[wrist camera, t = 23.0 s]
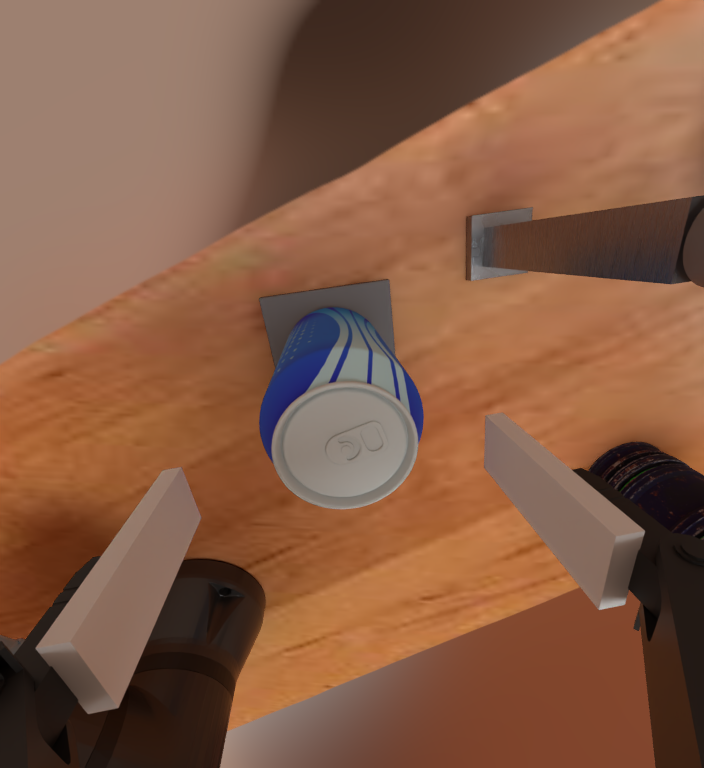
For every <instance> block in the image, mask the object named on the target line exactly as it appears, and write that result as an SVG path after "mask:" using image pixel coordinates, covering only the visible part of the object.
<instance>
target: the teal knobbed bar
mask: <svg viewBox="0 0 704 768" xmlns="http://www.w3.org/2000/svg"><path fill="white" fill-rule="evenodd" d="M683 265H684V269H685V272H686V274H687V276H688V277H689V279H690V280H691V281H692V282H693V283H695V284H696V285H698V286H701V287H704V208H703V209H702V210H701V212H700V213H699V214H698V216H697V217H696V219H695V220H694V222H693V224H692V226H691V228H690V230H689V232H688V235H687V237H686V241H685V244H684V250H683Z"/></svg>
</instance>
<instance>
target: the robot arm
mask: <svg viewBox="0 0 704 768" xmlns="http://www.w3.org/2000/svg"><path fill="white" fill-rule="evenodd" d="M484 468H485V469H486V470H487V472H488V473H489V474H490V475H491V477H492V478H493V479H494V480H495V481H496V483H497V484H498V485H499V486H500V488H501V489H502V490H503V491H504V493H505V494H506V495H507V496H508V498H509V499H510V500H511V501H512V503H513V504H514V505H515V506H516V508H517V509H518V510H519V511H520V513H521V514H522V515H523V516H524V518H525V519H526V520H527V521H528V522H529V524H530V525H531V526H532V527H533V529H534V530H535V531H536V532H537V534H538V535H539V536H540V537H541V539H542V540H543V541H544V542H545V544H546V545H547V546H548V547H549V549H550V550H551V551H552V552H553V554H554V555H555V556H556V557H557V559H558V560H559V561H560V562H561V564H562V565H563V566H564V567H565V568H566V570H567V571H568V572H569V573H570V575H571V576H572V577H573V578H574V580H575V581H576V582H577V583H578V585H579V586H580V587H581V588H582V590H583V591H584V592H585V593H586V595H587V596H588V597H589V598H590V600H591V601H592V602H593V603H594V605H595V606H596V607H597V608H598V610H601V609H606V608H610V607H616V606H620V605H624V604H625V601H626V598H627V595H628V591H629V590H630V591H631V592H632V593H633V594H634V595H635V596H636V597H637V598H638V599H639V601H640V602H641V604H640V607H639V610H638V613H637V617H636V620H635V624H634V629H635V630H638V631H639V628H640V626H641V635H642V645H643V654H644V663H645V673H646V682H647V691H648V701H649V709H650V719H651V729H652V737H653V747H654V757H655V766H656V768H704V540H701V539H698V538H696V537H693V536H690V535H685V534H679V533H672V532H670V531H669V530H668V529H667V528H665V527H664V526H663V525H661V524H660V523H659V522H657V521H656V520H655V519H654V518H652V517H651V516H650V515H648V514H647V513H646V512H645V511H643V510H642V509H641V508H639V507H638V506H637V505H635V504H634V503H633V502H632V501H630V500H629V499H628V498H625V497H624V495H622V494H621V493H620V492H619V491H617V490H616V489H613V487H612V486H611V485H610V484H608V483H607V482H606V481H604V480H603V479H602V478H600V477H599V476H597V475H595V474H593V473H591V472H589V471H586V470H584V469H582V468H580V469H574V470H571V469H570V468H569V467H568V466H566V465H565V464H564V463H563V462H561V461H560V460H559V459H558V458H557V457H555V456H554V455H553V454H552V453H551V452H549V451H548V450H547V449H546V448H545V447H543V446H542V445H541V444H540V443H539V442H537V441H536V440H535V439H534V438H533V437H531V436H530V435H529V434H528V433H526V432H525V431H524V430H523V429H522V428H520V427H519V426H518V425H517V424H516V423H514V422H513V421H512V420H511V419H510V418H508V417H507V416H506V415H505V414H504V413H497V414H491V415H486V420H485V456H484ZM200 520H201V515H200V513H199V510H198V508H197V505H196V503H195V500H194V498H193V495H192V493H191V490H190V487H189V485H188V482H187V480H186V477H185V475H184V472H183V470H182V467H179V468H173V469H167V470H163V471H162V472H161V473H160V475H159V476H158V478H157V479H156V480H155V482H154V483H153V485H152V486H151V487H150V489H149V490H148V492H147V493H146V494H145V496H144V497H143V499H142V500H141V501H140V503H139V504H138V506H137V507H136V508H135V510H134V511H133V513H132V514H131V515H130V517H129V518H128V520H127V521H126V522H125V524H124V525H123V527H122V528H121V529H120V531H119V532H118V534H117V535H116V536H115V538H114V539H113V541H112V542H111V543H110V545H109V546H108V548H107V549H106V550H105V552H104V553H103V555H102V556H98V557H93V558H92V559H91V560H90V561H89V562H88V563H86V564H85V565H84V566H83V567H82V568H81V569H80V570H79V571H77V572H76V573H75V575H74V576H73V577H72V579H71V580H70V581H69V583H68V584H67V585H66V587H65V588H64V589H63V590H64V591H63V593H60V595H59V596H58V597H57V598H56V600H55V601H54V602H53V606H52V607H50V608H49V609H48V610H47V612H46V613H45V614H44V616H43V617H42V618H41V620H40V621H39V622H38V624H37V625H36V626H35V627H34V629H33V630H32V631H31V633H30V634H29V635H28V637H27V638H26V639H23V638H21V639H17V640H14V639H11V638H8V637H5V636H2V635H0V768H220V764H221V759H222V754H223V749H224V743H225V738H226V733H227V728H228V723H229V717H230V712H231V707H232V701H233V696H234V691H235V686H236V682H237V679H238V676H239V674H240V672H241V670H242V668H243V666H244V664H245V662H246V659H247V657H248V655H249V653H250V651H251V649H252V647H253V645H254V643H255V640H256V638H257V636H258V634H259V632H260V629H261V626H262V623H263V617H264V611H265V603H266V602H265V595H264V592H263V590H262V588H261V586H260V585H259V583H258V582H257V581H256V580H255V579H254V578H253V577H252V576H251V575H249V574H248V573H246V572H245V571H243V570H241V569H239V568H237V567H235V566H232V565H230V564H226V563H223V562H218V561H211V560H189V561H183V559H184V557H185V554H186V552H187V550H188V547H189V545H190V543H191V540H192V538H193V536H194V534H195V531H196V529H197V527H198V524H199V522H200Z"/></svg>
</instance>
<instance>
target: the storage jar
mask: <svg viewBox="0 0 704 768" xmlns="http://www.w3.org/2000/svg"><path fill="white" fill-rule="evenodd" d="M589 472H591V473H593V474H595V475H597V476H599V477H600V478H602V479H603V480H604V481H606V482H607V483H608V484H610V485H611V486H612V487H613V489H616V490H617V491H619V492H620V493H621V494H622V495H624V497H625V498H628V499H629V500H630V501H632V502H633V503H634V504H635V505H637V506H638V507H639V508H641V509H642V510H643V511H645V512H646V513H647V514H648V515H650V516H651V517H652V518H654V519H655V520H656V521H657V522H659V523H660V524H661V525H663V526H664V527H665V528H667V529H668V530H669V531H670V532H672V533H679V534H685V535H690V536H693V537H696V538H698V539H701V540H704V476H703V475H702V474H700V473H699V472H697V471H695V470H693V469H692V468H690V467H689V466H688V465H687V464H685V463H684V462H682V461H680V460H678V459H677V458H675V457H672V456H669V455H668V454H666V453H664V452H661V451H660V450H659V449H657V448H656V447H654V446H652V445H650V444H648V443H644V442H630V443H626V444H622V445H620V446H617V447H615V448H613V449H611V450H609V451H608V452H606V453H605V454H603V455H602V456H601V457H600V458H599V459H598V460H597V461H596V462H595V463H594V464H593V465H592V466H591V468H590V469H589Z"/></svg>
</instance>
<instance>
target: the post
mask: <svg viewBox="0 0 704 768" xmlns="http://www.w3.org/2000/svg"><path fill="white" fill-rule="evenodd" d="M703 208H704V195H703V196H696V197H689V198H682V199H676V200H669V201H662V202H655V203H649V204H642V205H635V206H628V207H622V208H615V209H608V210H601V211H594V212H588V213H581V214H574V215H567V216H561V217H554V218H547V219H540V220H533V221H532V210H533V207H531V208H524V209H517V210H510V211H503V212H495V213H488V214H481V215H474V216H469V217H467V242H466V280H470V281H473V280H480V279H487V278H494V277H500V276H507V275H514V274H521V273H528V271H533V272H544V273H555V274H566V275H577V276H588V277H599V278H609V279H620V280H631V281H642V282H653V283H664V284H676V283H682V282H689V281H691V280H690V279H689V277H688V276H687V274H686V272H685V269H684V265H683V250H684V244H685V241H686V237H687V235H688V232H689V230H690V228H691V226H692V224H693V222H694V220H695V219H696V217H697V216H698V214H699V213H700V212H701V210H702V209H703Z"/></svg>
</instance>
